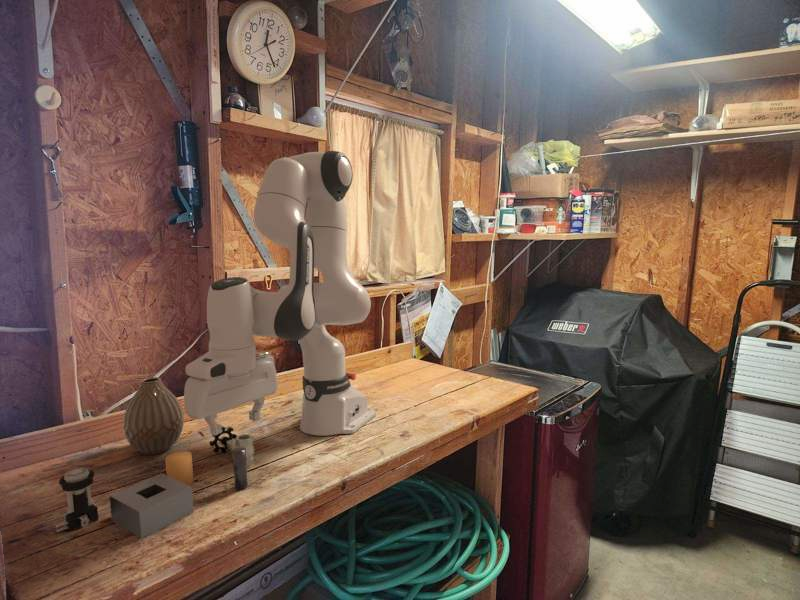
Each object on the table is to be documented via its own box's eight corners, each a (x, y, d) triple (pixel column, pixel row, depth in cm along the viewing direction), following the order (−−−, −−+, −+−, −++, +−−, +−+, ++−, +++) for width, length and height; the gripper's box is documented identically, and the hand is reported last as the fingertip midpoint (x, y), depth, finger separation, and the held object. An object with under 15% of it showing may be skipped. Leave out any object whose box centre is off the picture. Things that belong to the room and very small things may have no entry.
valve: (263, 462, 114) (235, 447, 122) (261, 435, 113) (234, 422, 121) (237, 473, 109) (210, 457, 117) (235, 444, 108) (208, 430, 116)
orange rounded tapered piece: (184, 475, 108) (182, 449, 107) (198, 481, 105) (196, 455, 104) (162, 485, 104) (160, 458, 103) (176, 492, 101) (174, 464, 100)
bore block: (163, 496, 99) (161, 473, 99) (193, 511, 94) (191, 486, 93) (111, 521, 91) (109, 495, 90) (141, 539, 86) (139, 512, 85)
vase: (174, 433, 131) (169, 369, 129) (193, 448, 122) (189, 379, 119) (119, 448, 122) (112, 379, 120) (136, 466, 113) (129, 391, 110)
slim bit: (242, 482, 105) (240, 446, 104) (250, 485, 103) (248, 449, 102) (231, 487, 103) (229, 451, 101) (240, 491, 101) (238, 454, 100)
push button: (62, 539, 86) (56, 485, 84) (51, 528, 89) (45, 476, 88) (104, 521, 91) (98, 470, 90) (91, 512, 94) (86, 462, 93)
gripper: (263, 348, 109) (265, 408, 111) (177, 368, 93) (181, 439, 94) (283, 351, 106) (285, 414, 108) (197, 373, 89) (202, 447, 91)
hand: (236, 426), depth 101 cm, fingers open, 8 cm apart
